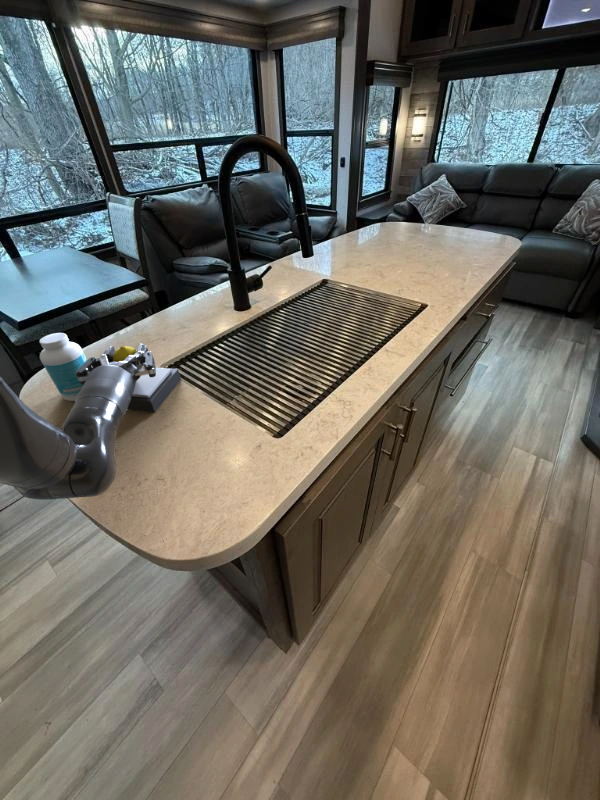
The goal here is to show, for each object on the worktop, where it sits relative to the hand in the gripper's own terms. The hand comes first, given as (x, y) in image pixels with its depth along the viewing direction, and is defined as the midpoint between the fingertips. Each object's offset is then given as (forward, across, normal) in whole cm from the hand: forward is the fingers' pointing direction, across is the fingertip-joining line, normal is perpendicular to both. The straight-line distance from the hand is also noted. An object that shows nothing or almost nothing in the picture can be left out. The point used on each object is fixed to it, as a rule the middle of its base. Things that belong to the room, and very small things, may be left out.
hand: (128, 349), depth 70 cm
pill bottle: (0, +13, +10) cm, 16 cm away
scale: (-2, 0, +10) cm, 10 cm away
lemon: (-3, 0, +6) cm, 7 cm away
